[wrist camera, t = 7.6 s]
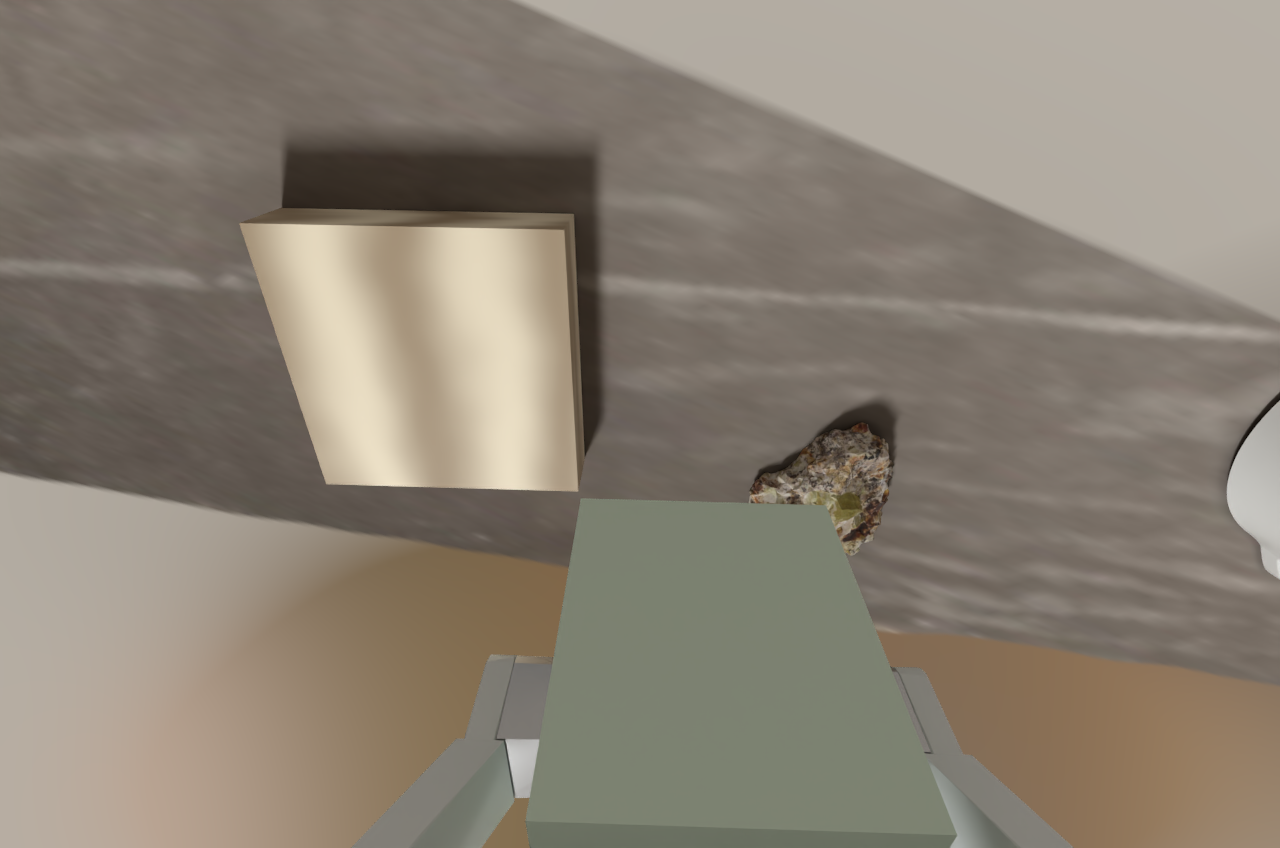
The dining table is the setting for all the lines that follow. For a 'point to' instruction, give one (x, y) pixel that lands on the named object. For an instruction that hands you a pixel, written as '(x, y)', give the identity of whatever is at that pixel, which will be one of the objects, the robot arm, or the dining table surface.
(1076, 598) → the dining table surface
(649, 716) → the sage block
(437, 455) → the birch plinth
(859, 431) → the mineral rock
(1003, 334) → the dining table surface
